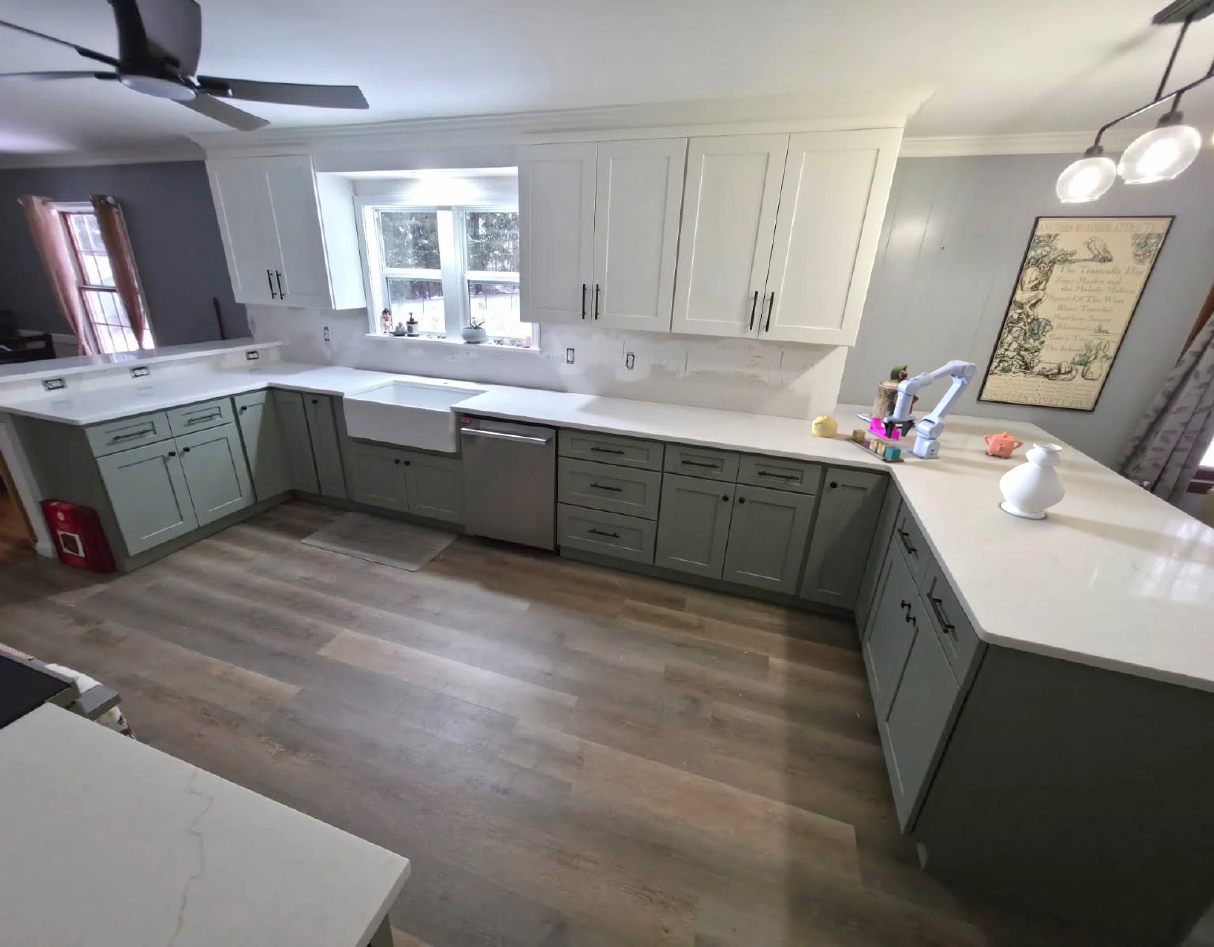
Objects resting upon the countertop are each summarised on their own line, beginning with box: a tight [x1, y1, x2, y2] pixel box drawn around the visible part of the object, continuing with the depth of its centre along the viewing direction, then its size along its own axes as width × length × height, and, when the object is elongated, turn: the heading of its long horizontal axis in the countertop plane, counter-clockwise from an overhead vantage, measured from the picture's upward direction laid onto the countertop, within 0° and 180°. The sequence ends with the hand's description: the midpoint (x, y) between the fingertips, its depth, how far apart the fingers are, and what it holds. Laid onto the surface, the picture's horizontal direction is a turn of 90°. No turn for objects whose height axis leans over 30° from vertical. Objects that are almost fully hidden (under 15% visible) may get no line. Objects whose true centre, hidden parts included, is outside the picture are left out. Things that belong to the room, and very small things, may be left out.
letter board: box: [847, 428, 905, 464], centre depth 234 cm, size 31×8×6 cm, turn 9°
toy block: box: [868, 417, 901, 441], centre depth 254 cm, size 15×6×8 cm, turn 7°
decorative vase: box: [999, 441, 1066, 520], centre depth 174 cm, size 18×18×25 cm
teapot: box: [983, 430, 1024, 459], centre depth 229 cm, size 14×12×10 cm
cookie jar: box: [857, 363, 920, 428], centre depth 272 cm, size 25×25×32 cm
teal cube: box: [885, 446, 902, 459], centre depth 222 cm, size 4×4×4 cm
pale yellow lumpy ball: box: [811, 414, 838, 438], centre depth 251 cm, size 12×12×11 cm
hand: (895, 436), depth 225 cm, fingers open, 7 cm apart
